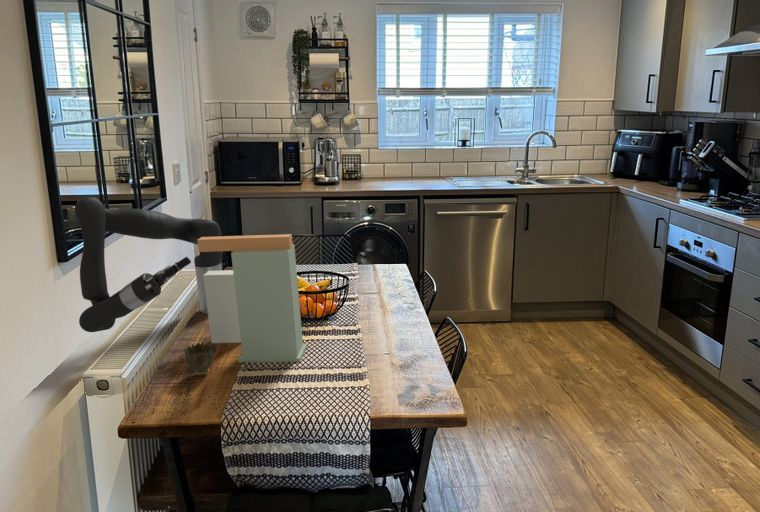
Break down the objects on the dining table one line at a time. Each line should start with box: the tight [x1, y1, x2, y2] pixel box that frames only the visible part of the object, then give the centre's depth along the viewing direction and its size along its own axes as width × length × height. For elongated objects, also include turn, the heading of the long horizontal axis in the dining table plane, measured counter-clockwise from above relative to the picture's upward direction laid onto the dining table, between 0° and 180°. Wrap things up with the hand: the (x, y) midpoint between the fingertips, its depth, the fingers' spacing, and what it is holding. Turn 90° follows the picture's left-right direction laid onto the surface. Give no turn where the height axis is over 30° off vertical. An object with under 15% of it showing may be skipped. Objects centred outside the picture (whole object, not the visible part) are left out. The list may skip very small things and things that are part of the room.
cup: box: [183, 342, 213, 377], centre depth 169 cm, size 8×7×8 cm
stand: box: [230, 243, 308, 364], centre depth 177 cm, size 11×18×32 cm, turn 86°
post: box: [203, 269, 241, 344], centre depth 191 cm, size 5×10×22 cm, turn 86°
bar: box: [197, 233, 294, 253], centre depth 173 cm, size 4×26×4 cm, turn 86°
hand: (183, 263), depth 176 cm, fingers open, 8 cm apart
